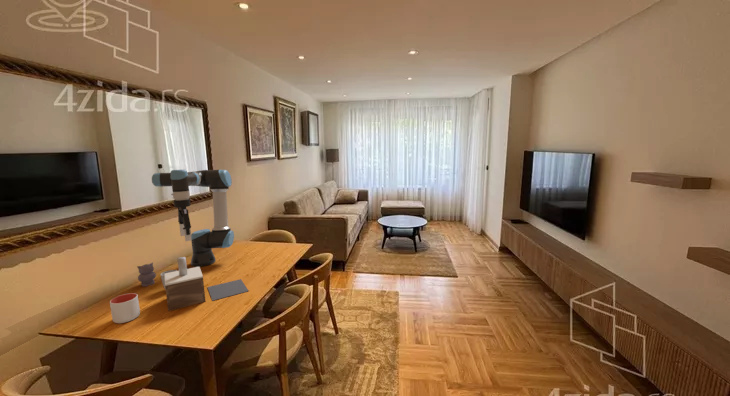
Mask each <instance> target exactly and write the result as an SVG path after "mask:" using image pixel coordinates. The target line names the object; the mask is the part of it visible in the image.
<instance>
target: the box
mask: <svg viewBox="0 0 730 396" xmlns="http://www.w3.org/2000/svg"><path fill="white" fill-rule="evenodd" d="M165 288H166V290H165V294H166V295H165V297H166V304H167V311H168V312H171V311H174V310H179V309H182V308H187V307H190V306H193V305H198V304H201V303H204V302H206V294H205V291H206V290H205V283H204V277H203V278H199V279H194V280H190V281H185V282H181V283H176V284H172V285H167V286H165ZM165 288H164V289H165Z"/></svg>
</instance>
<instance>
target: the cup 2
mask: <svg viewBox="0 0 730 396" xmlns="http://www.w3.org/2000/svg"><path fill="white" fill-rule="evenodd" d="M174 271H178V270H177V269H169V270H165V271H162V272H161V273H160V278H161V279H160V280H161V283H162V285H163V288H164V290H165V291H166V288H165V274H164V273H169V272H174Z"/></svg>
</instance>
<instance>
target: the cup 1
mask: <svg viewBox="0 0 730 396" xmlns="http://www.w3.org/2000/svg"><path fill="white" fill-rule="evenodd" d="M138 296H139V295H138V294H137V293H135V292H134V293H132V292H131V293H124V294H120V295H118V296H115V297H113V298H112V299H110V300H109V305H110V312H111V319H112V322H113V323H115V324H124V323H128V322H131V321H133V320H135V319H136V318H138V317H139V316H140V314H141V309H140V301H139V297H138Z"/></svg>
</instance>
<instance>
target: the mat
mask: <svg viewBox="0 0 730 396" xmlns="http://www.w3.org/2000/svg"><path fill="white" fill-rule="evenodd" d="M206 288H207V290H208V293H209V295H210V297H211V298H210V299H211V301H212V302H213V301H217V300H221V299H225V298H230V297H232V296H236V295H240V294H244V293H247V292H250V290H249V289H248V288H247V286H246V285H245V283H244V282H243V279H241V278H240V279H236V280H231V281H227V282H224V283H219V284H214V285H210V286H207V287H206Z"/></svg>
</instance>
